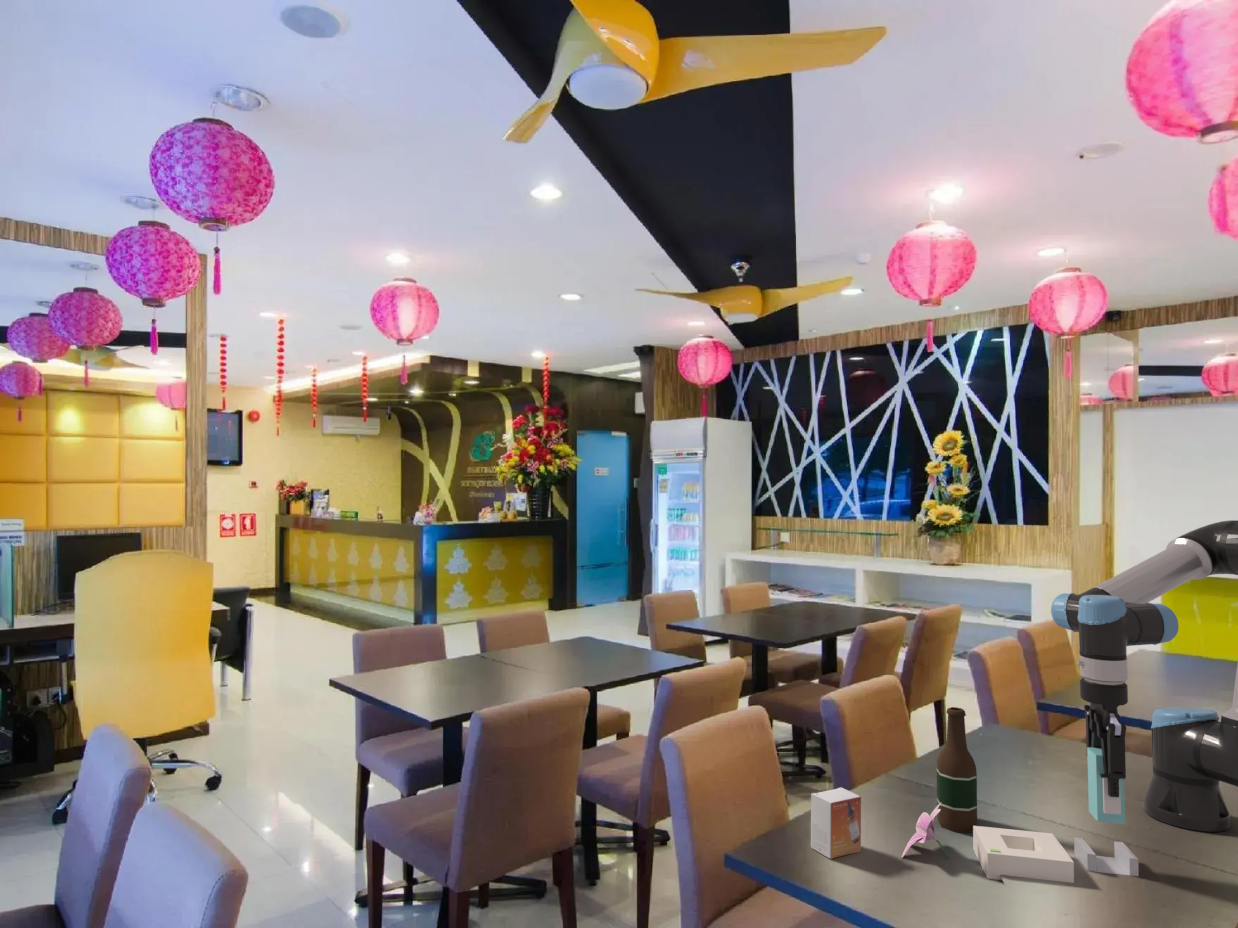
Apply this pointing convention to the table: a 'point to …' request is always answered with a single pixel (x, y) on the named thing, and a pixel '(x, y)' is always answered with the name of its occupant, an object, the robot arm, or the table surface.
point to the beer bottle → (956, 778)
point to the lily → (925, 829)
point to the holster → (1107, 859)
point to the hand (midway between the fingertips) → (1106, 806)
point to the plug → (1100, 789)
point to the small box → (836, 822)
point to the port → (1021, 854)
